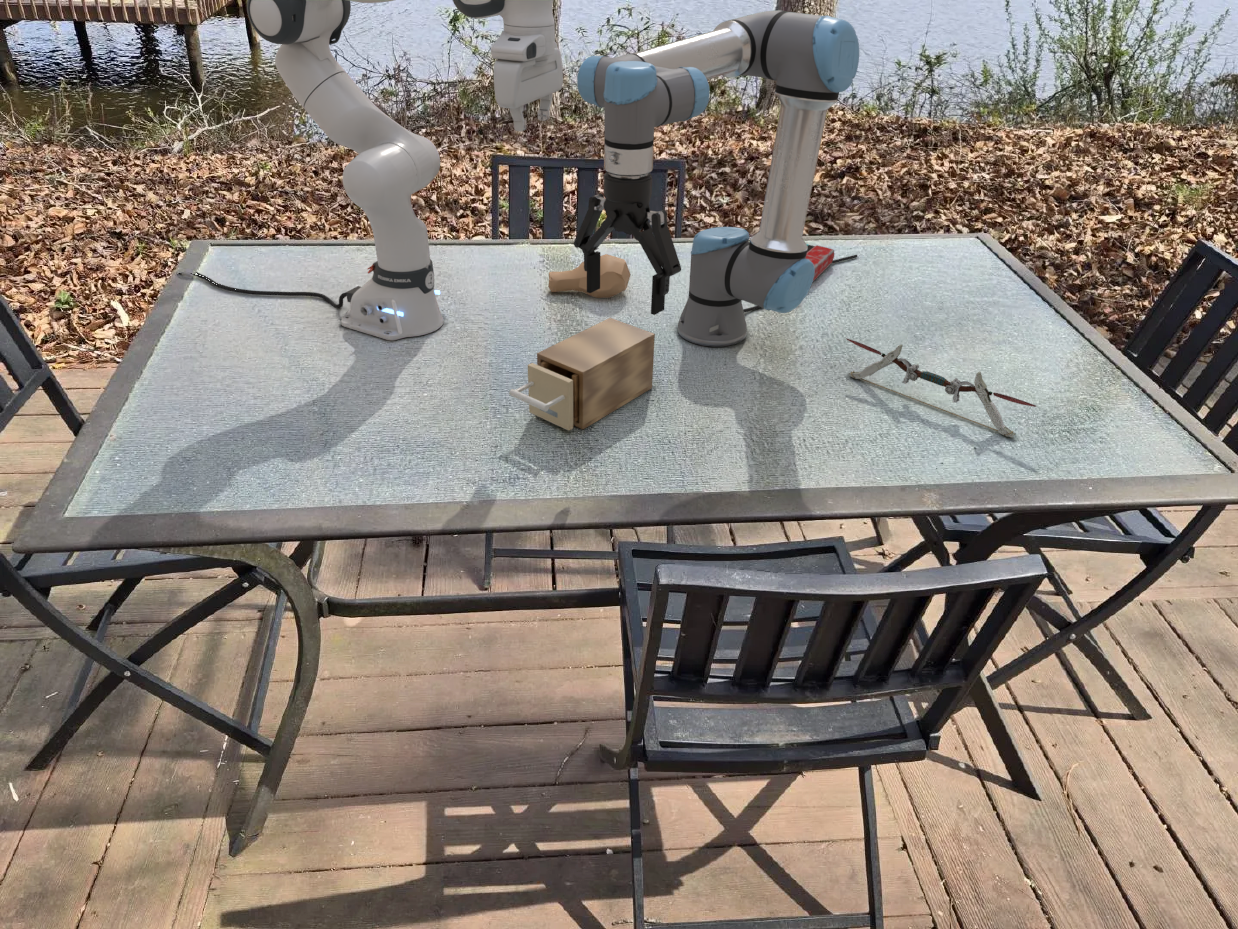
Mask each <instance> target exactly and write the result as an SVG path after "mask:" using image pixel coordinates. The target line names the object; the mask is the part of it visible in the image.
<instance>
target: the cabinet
mask: <svg viewBox="0 0 1238 929" xmlns="http://www.w3.org/2000/svg"><path fill="white" fill-rule="evenodd" d="M655 338H656V333H654V332H652V331H651V332H650V331H648V330H646V329H643V328H640V327H637V326H635V325H632V324H629V323H626V322H624V321H621V320H617V319H615V318H612V317H608V318H607V319H604V320H602V321H600V322H598V323H596V324H594V325H592V326H590V327H589V328H586V329H584V330H582V331H580V332H578V333H576V334H573V335H571V336H570V337H568V338H565V339H563V340H562V341H559V342H557V343H555V344H553V345H551V346H549V347H547V348H545V349H543V350H541V351H538V352H537V353H536V365H538V366H541V362H543V361H546V362H549V363H551V364H554V365H556V366H558V367H561V368H563V369H566V370H568V371H570V372H573V373H575V374H578V375H579V420H578V421H576V422H574V421H573V427H576V428H578V429H580V430H585V429H587V428H589V427H590V426H591V425H594V424H595V423H597V422H598V421H600V420H602V419H603V418H605V417H607V416H608V415H610V414H612V413H613V412H615V411H617V410H618V409H621V407H623V406H626V405H627V404H628V403H630V402H631V401H634V400H635V399H636V398H639V397H640V396H642V395H643V394H645V393H646V392H648V391H650V390H651V389H653V379H654V378H653V377H654V361H655V360H654V358H655V357H654V356H655V341H656V340H655Z"/></svg>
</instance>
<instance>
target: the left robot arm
mask: <svg viewBox="0 0 1238 929" xmlns="http://www.w3.org/2000/svg"><path fill="white" fill-rule="evenodd" d="M393 1H395V0H247V1H246V12H247V16H248V20H249V23H250V25H251V27H252V28H253V30H254V31H255V32H256V34H258V36H259V37H260V38H262V39H263V40H265V41H267V42H268V43H272V44H275V45H280V46H279V48H278V49H277V52H276V54H275V58H274V64H275V68H276V70H277V72H278V74H279V76H280V77H281V79H282V81H283V82H284V83H285V86H286V87H287V88H288V90H289V91H290V92H291V94H292V95H293V97H294V98H295V100H296V101H297V102H298V104H299V105H300V106H301V107H302V108H303V110H304V111H305V112H306V113H307V114H308V115H309V116H310V118H311V119H312V120H313V121H314V122H315V123H316V125H317V126H318V127H319V128H320V129H321V130H322V132H323V133H324V134H325V136H327V138H329V139H330V141H332V142H333V143H334V144H337V145H339V146H343V147H345V148H348V149H350V150H352V151H354V152H355V153H357V155H356V156H355V157H354V158H352V159H351V160H350V161H349V162H348V163H347V165H346V166H344V169H343V172H342V185H343V188H344V192H345V193H346V196H347V197H348V198H349V200H350V201H351V202H352V203H353V204H354V205H356V206H357V207H359V208H360V209H361V210H362V211H363V212H364V214H365V216H366V218H367V220H368V222H369V225H370V228H371V231H372V234H373V235H372V236H373V240H374V241H373V243H374V247H375V253H376V254H375V255H376V261H374V262H373V263H372V265H371V266H369V267H368V268H367V274H370V273H372V277H371V278H370V279H369V280H367V282H365V283H364V284H363V285H362V286H359V285H358V286H355V287H353V288H351V289H349V290H347V291H344V292H343V293H341V294H339V297H338V304H336V303H335V302H334V301H333V300H331V298H330V297H329V296H327V295H325V294H323V293H320V292H313V291H279V290H278V291H275V290H274V291H273V290H252V289H243V288H237V287H234V286H233V287H232V286H229V285H226V284H222V285H221V283H219V282H217V281H215V280H213V279H212V278H211V277H209V276H207V275H205V274H202V273H200V272H197V271H196V273H197V274H198V275H195V274H192V273H190V274H191V275H192V276H195V277H197V278H199V279H201V280H204V281H206V282H207V283H209V284H211V285H212V286H214V287H215V288H218V289H221V290H224V291H228V292H231V293H238V294H244V295H255V296H279V297H281V296H282V297H315V298H319V299H322V300H324V301H325V302H326V303H328V304H329V305H331V306H332V307H333V308H334V309H342V308H343V306H344V299H345V298H346V301H347V303H350V305H349V310H347V311H346V313H344V314H343V316H342V317H341V320H340V324H341V326H342V327H344V328H347V329H350V330H354V331H357V332H360V333H364V334H367V335H370V336H373V337H377V338H380V339H383V340H387V341H396V340H397V341H398V340H401V339H404V338H412V337H420V336H423V335H427V334H430V333H431V334H432V333H434V332H436V331H437V330H439V329H441V327H442V326H443V325H444V323H445V320H444V317H443V314H442V312H441V310H440V307H439V303H438V300H437V296H436V295H438V296H439V295H441V290H439V289H435V271H434V264H433V260H432V259H431V253H430V243H429V232H428V227H427V225H426V224H425V222H424V221H423V220H422V219H420V218H419V217H417V216H416V213H415V211H414V208H413V205H412V195H413V194H415V193H417V192H419V191H421V190H423V189H425V188H426V187H427V186H428V185H429V184H430V183H431V182H432V181H433V180H435V178H436V177H437V176H438V173H439V172H440V169H441V156H440V153H439V150H438V149H437V147H436V145H435V144H434V143H433V142H432V141H431V140H430V139H429V138H427V137H425V136H423V135H419V134H416V133H414V132H412V131H410V130H408V129H407V128H406V127H403V125H402V124H399V123H398V122H397V121H395V119H392V117H390V116H388V114H386V113H385V112H383V111H382V110H381V108H379V107H378V106H377V105H375V103H374V102H372V100H371V99H370V98H369V97H368V96H367V94H366V93H364V91H363V90H362V89H361V88H360V87H359V85H358V84H357V83H356V82H355V81H354V79H353V78H352V77H351V76H350V74H348V73H347V72H346V71H345V69H344V68H343V67H342V66H341V65H340V63H339V62H338V61H337V60H336V59H335V57H334V56H333V54H332V52H331V49H330V45H335V44H337V43H338V42H339V41H340V39H341V35H342V32H343V30H344V28H345V26H346V25H347V23H348V22H349V19H350V16H351V9H352V7H351V6H352V4H351V2H355V3H360V4H362V3H363V4H378V3H380V4H381V3H387V2H388V3H389V2H393ZM452 2H453V4H454V6H455V7H456V9H457V10H458V12H460V13H461V14H462V15H464V16H465V17H468V18H471V19H477V20H481V19H487V18H492V17H493V18H494V17H498V16H500V17H501V18H502V21H503V22H502V23H503V31H502V32H501V33H500V35H499V37H498V38H497V39H496V40H495V41H494V42H493V43H492V45H491V47H490V56H491V58H492V59H494V60H495V61H494V63H493V88H494V95H495V96H494V97H495V101H496V104H497V105H498V107H499V108H504V109H509V113H510V116H511V118H512V121H513V129H514V131H515V132H520V133H521V132H524V131H526V130H527V128H528V127H527V119H525V118H524V113H523V112H524V111H525V107H524V106H525V105H528V104H530V103H533V102H535V101H538V100H539V101H540V102H539V108H538V110H537V119H538V120H539V121H541V122H543V121H544V122H545V121H548V120H549V119H550V118H551V117H550V116H551V115H550V114H551V113H550V110H551V107H552V104H553V94H555V93H557V92H559V91H562V89H563V84H564V73H563V70H564V69H563V59H562V53H561V50H560V49H559V48H558V43H557V42H556V27H555V26H556V24H555V23H556V22H555V18H554V13H553V3H554V0H452ZM176 275H178V274H177V272H176ZM199 275H201V276H199ZM202 276H204V277H202ZM206 276H207V277H206ZM208 277H209V278H208ZM206 278H207V279H206ZM208 279H209V280H210V281H209V280H208ZM212 282H214V283H215V284H214V283H212ZM216 282H217V283H216ZM218 283H219V284H218ZM216 284H217V285H216ZM235 289H236V290H235Z"/></svg>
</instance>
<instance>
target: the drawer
mask: <svg viewBox="0 0 1238 929" xmlns="http://www.w3.org/2000/svg"><path fill="white" fill-rule="evenodd" d="M526 390H528V395H527V394H525V393H523V392H524V391H526ZM508 395H509V396H510V397H513V398H515V399H517V400H519V401H522V402H523V403H525V404H528V411H529V412H528V413H530V414H531V415H534V416H536V417H538V418H541V419H542V420H545V421H547V422H549V423H552V424H553V425H555V426H558V427H560V428H562V429H564V430H567V431H572V430H573V429H574V425H573V421H574V422H576V421H578V420H579V375H578V374H575V373H573V372H570V371H568V370H566V369H563V368H561V367H558V366H556V365H554V364H551V363H549V362H546V361H543V362H541V366H538V365H537V363H534V362H531V363H529V364H527V383H526V384H524V385H521V386H520V387H518V388H515V389H514V388H511V389H510V390H509V392H508Z"/></svg>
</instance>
